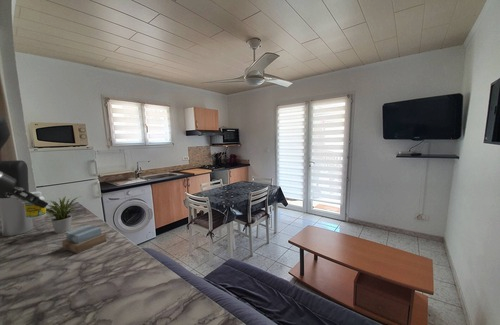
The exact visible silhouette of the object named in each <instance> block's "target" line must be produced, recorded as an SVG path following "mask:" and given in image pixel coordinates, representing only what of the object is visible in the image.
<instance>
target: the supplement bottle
mask: <svg viewBox="0 0 500 325" xmlns="http://www.w3.org/2000/svg"><path fill="white" fill-rule="evenodd" d="M29 192H30V193H32V194H33V195H35V196H37V197H39V199H41V200H43V201H45V202H46V199H45V197H44V196H43V195H42V194H43V193H42V191H29ZM33 199H34V198H33V197H32V198H31V199H30V200H31V201H32V200H33ZM24 203H25V211H26V218H27V219H32V220H34V219H39V218H43V217H45V216H46V215H47V213H46V212H47V211H46V208H47V206H46V207H45V208H41V207H39V206H37V205H35V204H31V203H29V202H27V201H25V202H24Z"/></svg>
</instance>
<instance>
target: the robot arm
mask: <svg viewBox="0 0 500 325" xmlns="http://www.w3.org/2000/svg"><path fill="white" fill-rule="evenodd" d="M10 136H11V132H10V129H9V126H8V123H7V121H6V118H5V117H4V116H3V115H2V114H1V113H0V151H1V150H2V148H3V147H4V145H5V144H6V143H7V142H8V141H9V138H10ZM30 192H31V191H30V186H29V168H28V164H27V162H25V161H24V160H0V225H1V232H2V236H3V237H12V236H17V235H22V234H25V233H28V232H31V231H32V230H33V229H34V224H33V223H34V222H33V219H27V218H26V211H25V203H24V202H25V201H27V202H29V203H31V204H35V205H37V206H39V207H41V208H45V207H46V208H47V206H48V205H49V203H48V201H46V200H45V201H43V200H41V199H39V197H37V196H35V195H33V194H32V193H30ZM32 197H33V198H34V199H33V200H32V201H31V200H30V199H31V198H32Z"/></svg>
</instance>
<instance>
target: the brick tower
mask: <svg viewBox="0 0 500 325" xmlns="http://www.w3.org/2000/svg"><path fill="white" fill-rule="evenodd" d="M65 236H66V239H63V240H61V241H62V249H65V250H67V251H70V252H73V253H76V254H79V253H81V252H84V251H86V250H88V249H89V250H90V248H93V247H95V246H99V245H101V244H102V243H105V242H106V241H107V237H106V236H107V235H106V233H103V232H102V228H101V227H100V226H99V227H98V226H94V225H91V224H88V225H85V226H82V227H78V228H76V229H73V230H68V231H66V232H65Z"/></svg>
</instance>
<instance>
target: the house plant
mask: <svg viewBox="0 0 500 325" xmlns="http://www.w3.org/2000/svg"><path fill="white" fill-rule="evenodd" d="M78 198H82V196H76V197H75V198H73V199H72V200H71V201H70V199H71V198H68V199H67V200H66V196H64V197H62V199H61V198H60V197H58V199H59V204H58V202H56V200H52V199H50V200H46V199H45V202H49V203H52V204H53V205H50V204H48V205H47V206H48V207H50V208H51V209H50V208H47V207H46V215H47V214H51V225H52V226H53V229H54V232H55V233H56V234H60V233H66V232H69V231H71V228H72V219H73V215H70V213H71V212H73V211H75V209H77V207H75V206H74V207H71V206H72V204H73V203H74V202H76V199H78ZM65 201H66V202H65ZM52 217H53V218H52Z"/></svg>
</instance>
